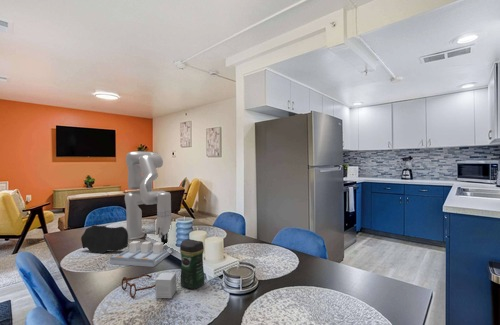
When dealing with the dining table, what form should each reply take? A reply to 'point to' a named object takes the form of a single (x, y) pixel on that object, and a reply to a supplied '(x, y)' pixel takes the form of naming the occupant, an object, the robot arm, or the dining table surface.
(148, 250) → the off-white block
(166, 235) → the robot arm
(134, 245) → the light grey block
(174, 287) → the product box
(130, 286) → the glasses
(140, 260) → the switch bank
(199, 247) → the coffee jar
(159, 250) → the white block
